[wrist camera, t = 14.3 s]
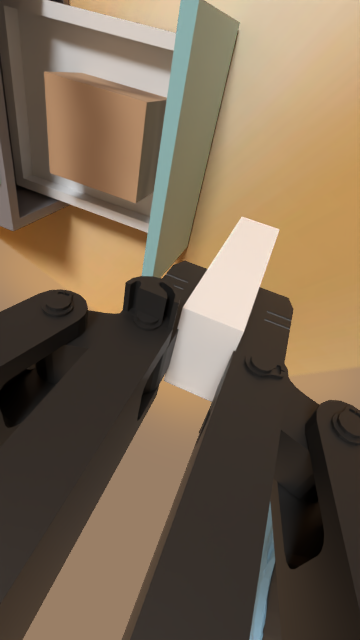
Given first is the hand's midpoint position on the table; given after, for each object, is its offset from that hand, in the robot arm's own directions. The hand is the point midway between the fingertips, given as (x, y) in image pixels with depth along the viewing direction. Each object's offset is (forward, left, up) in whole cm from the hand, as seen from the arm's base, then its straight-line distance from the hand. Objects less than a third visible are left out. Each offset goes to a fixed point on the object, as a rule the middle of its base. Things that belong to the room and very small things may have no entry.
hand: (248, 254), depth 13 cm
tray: (+14, 0, -13) cm, 19 cm away
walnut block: (+12, 0, -12) cm, 17 cm away
